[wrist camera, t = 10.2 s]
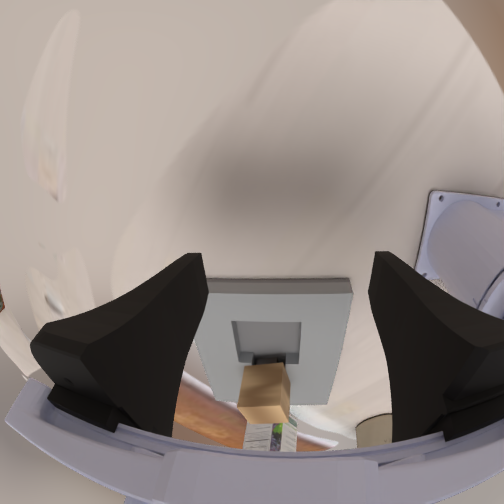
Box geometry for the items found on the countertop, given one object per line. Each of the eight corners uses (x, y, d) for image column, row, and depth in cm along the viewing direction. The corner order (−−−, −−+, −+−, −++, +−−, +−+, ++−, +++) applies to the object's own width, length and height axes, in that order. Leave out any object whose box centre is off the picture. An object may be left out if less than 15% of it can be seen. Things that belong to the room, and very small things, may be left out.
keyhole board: (349, 278, 22) (353, 293, 20) (326, 391, 31) (326, 404, 29) (187, 278, 24) (179, 291, 22) (218, 388, 33) (216, 400, 31)
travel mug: (376, 433, 38) (381, 516, 23) (346, 429, 37) (347, 521, 21) (408, 415, 34) (421, 505, 19) (380, 410, 33) (390, 513, 18)
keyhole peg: (283, 350, 26) (280, 405, 21) (291, 372, 28) (288, 422, 23) (246, 354, 27) (236, 407, 22) (256, 375, 29) (249, 424, 24)
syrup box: (299, 419, 36) (294, 504, 23) (266, 425, 38) (256, 504, 25) (280, 405, 34) (271, 500, 21) (246, 412, 36) (231, 498, 23)
